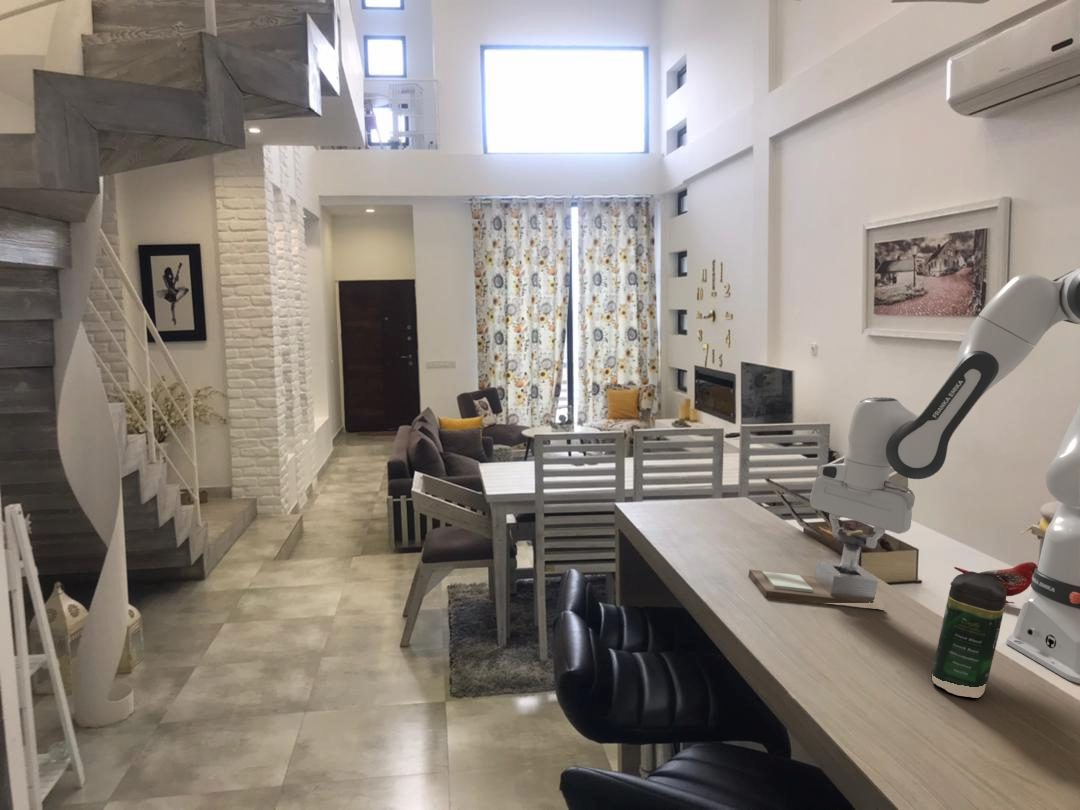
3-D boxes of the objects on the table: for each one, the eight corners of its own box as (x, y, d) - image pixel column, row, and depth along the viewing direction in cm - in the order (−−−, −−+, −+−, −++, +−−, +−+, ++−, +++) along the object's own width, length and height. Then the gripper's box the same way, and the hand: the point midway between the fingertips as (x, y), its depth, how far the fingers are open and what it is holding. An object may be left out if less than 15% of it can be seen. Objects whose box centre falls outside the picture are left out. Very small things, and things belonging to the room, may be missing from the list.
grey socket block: (874, 599, 161) (877, 580, 161) (830, 595, 161) (834, 576, 160) (855, 583, 170) (859, 565, 170) (814, 578, 170) (817, 560, 169)
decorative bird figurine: (1037, 611, 172) (1047, 566, 170) (950, 596, 174) (959, 552, 173) (1031, 606, 175) (1041, 562, 173) (946, 591, 177) (955, 548, 176)
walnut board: (883, 610, 160) (885, 600, 160) (765, 598, 159) (767, 587, 159) (858, 588, 172) (860, 578, 172) (748, 576, 171) (749, 566, 171)
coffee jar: (981, 707, 123) (1006, 592, 121) (926, 687, 128) (948, 576, 125) (988, 686, 131) (1012, 578, 129) (936, 668, 136) (957, 563, 133)
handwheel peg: (866, 586, 165) (876, 534, 164) (852, 591, 161) (861, 537, 160) (839, 576, 170) (848, 525, 168) (824, 581, 166) (834, 528, 164)
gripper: (923, 487, 157) (910, 555, 159) (827, 463, 172) (816, 525, 174) (909, 490, 153) (896, 559, 155) (811, 464, 168) (801, 528, 170)
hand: (853, 541), depth 164 cm, fingers closed on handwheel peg, 6 cm apart
